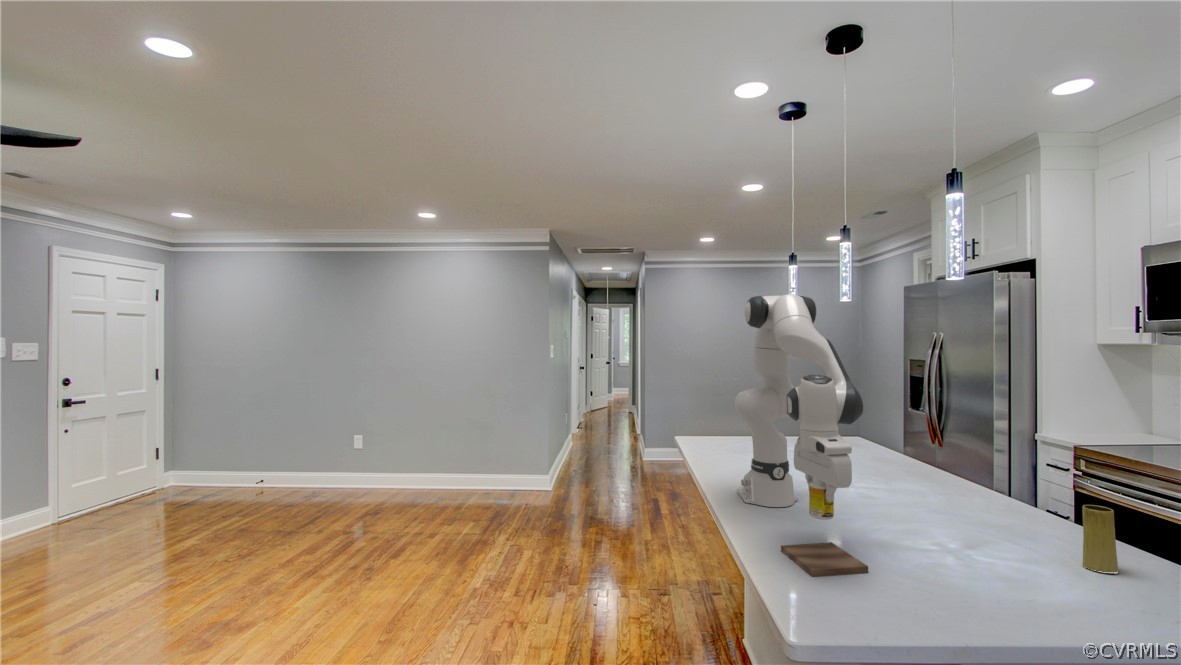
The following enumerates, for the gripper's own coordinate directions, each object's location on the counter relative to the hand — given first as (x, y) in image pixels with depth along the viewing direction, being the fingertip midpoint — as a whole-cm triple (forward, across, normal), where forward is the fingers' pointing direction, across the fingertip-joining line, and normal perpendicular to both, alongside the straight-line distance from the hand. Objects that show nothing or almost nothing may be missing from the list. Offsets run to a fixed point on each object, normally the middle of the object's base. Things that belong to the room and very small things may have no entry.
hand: (821, 496), depth 128 cm
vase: (+16, +14, +61) cm, 65 cm away
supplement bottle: (+5, 0, 0) cm, 5 cm away
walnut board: (+16, 0, 0) cm, 16 cm away
